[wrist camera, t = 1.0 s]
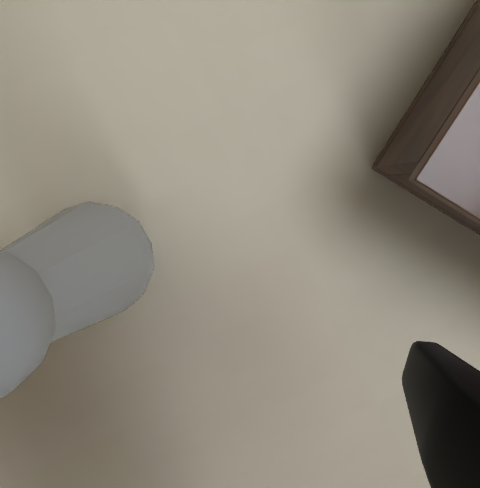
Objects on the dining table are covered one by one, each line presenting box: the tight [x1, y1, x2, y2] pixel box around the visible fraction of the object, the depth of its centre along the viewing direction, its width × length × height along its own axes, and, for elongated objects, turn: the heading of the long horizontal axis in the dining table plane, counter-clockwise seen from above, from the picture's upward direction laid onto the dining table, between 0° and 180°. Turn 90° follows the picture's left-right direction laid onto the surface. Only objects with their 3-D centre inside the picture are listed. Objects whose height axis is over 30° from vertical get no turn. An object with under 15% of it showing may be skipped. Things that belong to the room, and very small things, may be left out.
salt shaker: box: [0, 202, 154, 398], centre depth 16 cm, size 6×6×13 cm
